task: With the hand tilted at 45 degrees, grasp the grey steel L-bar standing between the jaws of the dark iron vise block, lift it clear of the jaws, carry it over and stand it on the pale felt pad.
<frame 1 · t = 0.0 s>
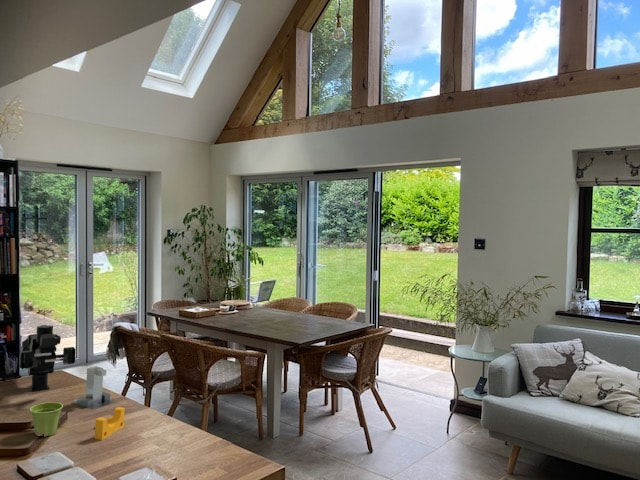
hand: (52, 362, 185), 17 cm above the kitchen island, tool horizontal, fingers open, 9 cm apart
steel bar: (93, 402, 190), point 1 cm above the kitchen island, touching vise
vise: (93, 405, 190), on the kitchen island
plant pot: (45, 434, 163), on the kitchen island
felt pad: (48, 411, 182), on the kitchen island
pipe clamp: (107, 433, 167), on the kitchen island
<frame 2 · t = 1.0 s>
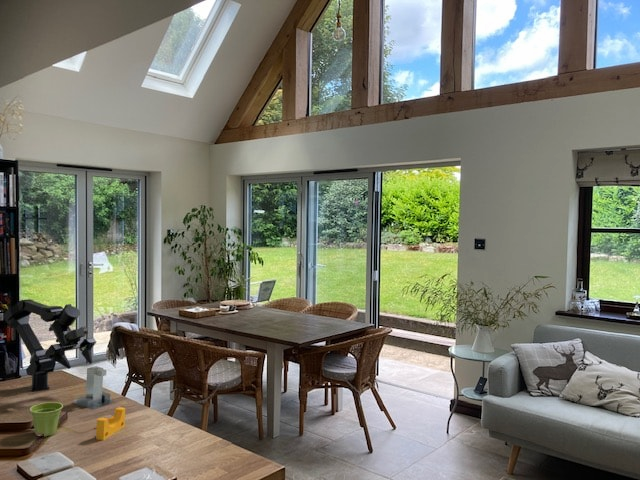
hand: (80, 365, 194), 14 cm above the kitchen island, tool tilted 45°, fingers open, 9 cm apart
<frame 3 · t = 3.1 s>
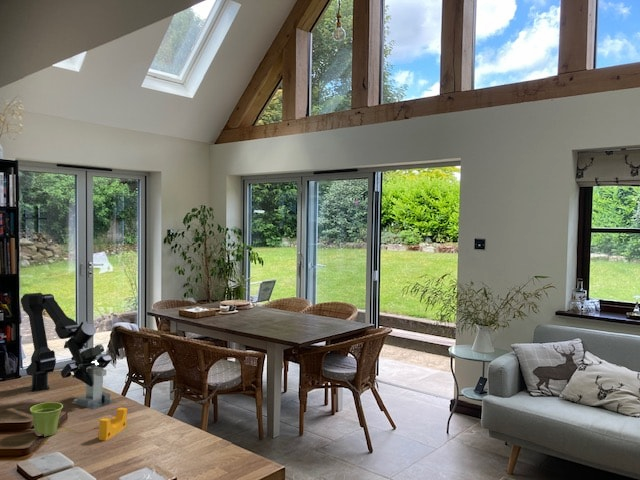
hand: (96, 384, 190), 8 cm above the kitchen island, tool tilted 45°, fingers closed on steel bar, 4 cm apart
steel bar: (93, 402, 190), point 1 cm above the kitchen island, touching gripper, vise
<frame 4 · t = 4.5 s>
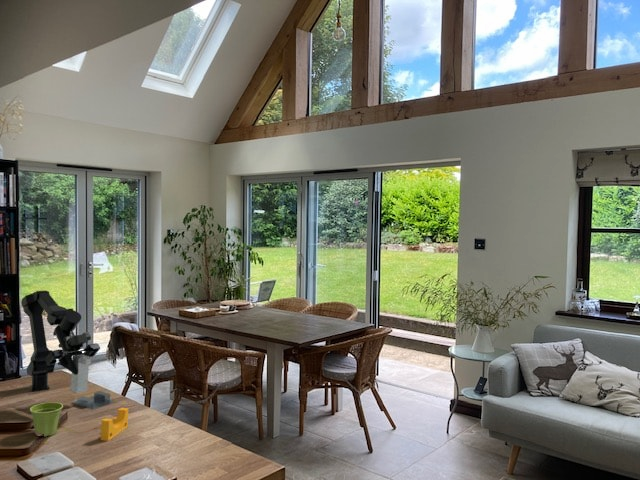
hand: (82, 372, 186), 13 cm above the kitchen island, tool tilted 45°, fingers closed on steel bar, 4 cm apart
steel bar: (79, 391, 187), point 6 cm above the kitchen island, touching gripper
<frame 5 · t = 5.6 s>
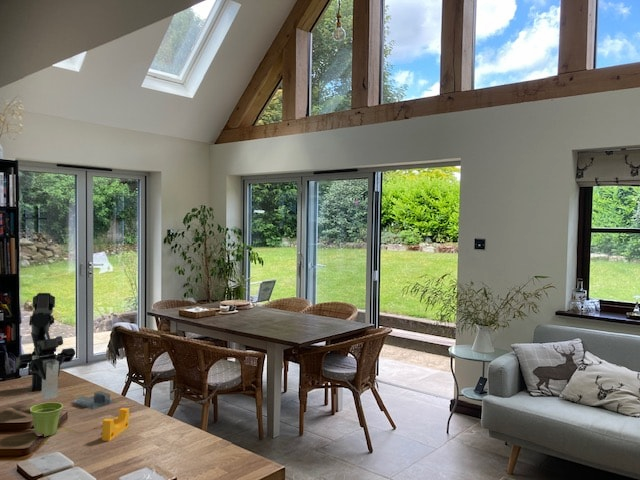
hand: (51, 378, 181), 12 cm above the kitchen island, tool tilted 45°, fingers closed on steel bar, 4 cm apart
steel bar: (49, 396, 182), point 5 cm above the kitchen island, touching gripper
when the fingers open (9 cm above the kitchen island, at t = 6.4 s): steel bar drops 1 cm, resting on felt pad.
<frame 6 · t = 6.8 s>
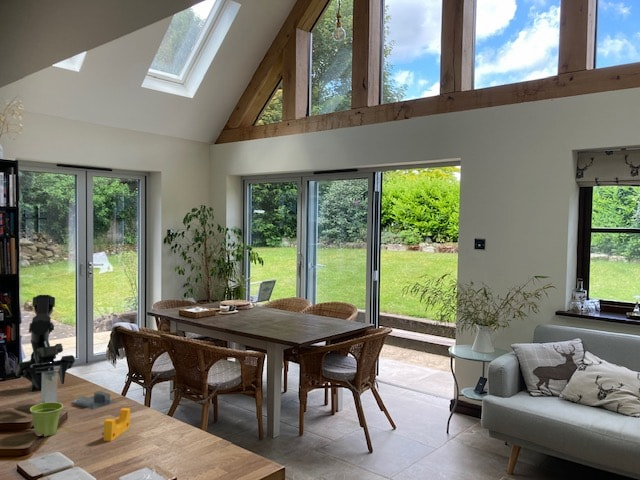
hand: (51, 385, 181), 10 cm above the kitchen island, tool tilted 45°, fingers open, 8 cm apart
steel bar: (48, 408, 182), point 1 cm above the kitchen island, touching felt pad
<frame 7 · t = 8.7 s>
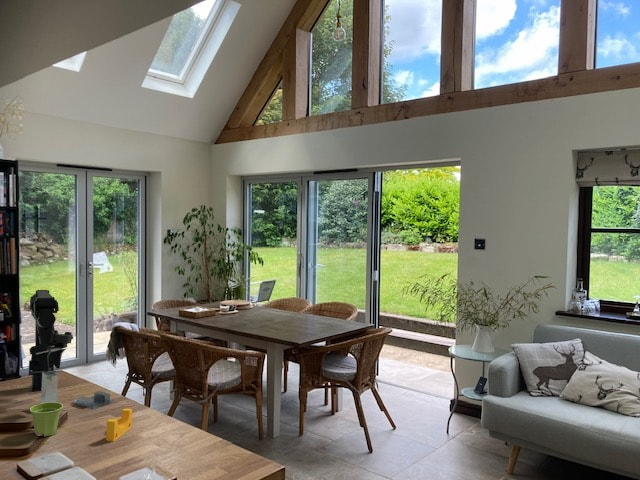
hand: (52, 369, 192), 12 cm above the kitchen island, tool tilted 20°, fingers open, 9 cm apart
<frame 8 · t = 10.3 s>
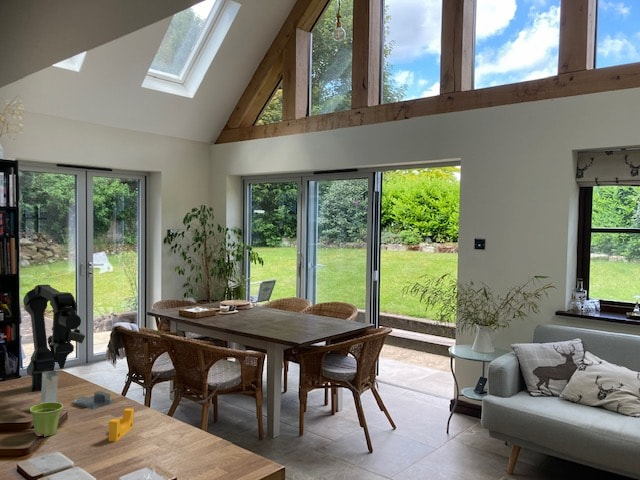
hand: (59, 365, 195), 13 cm above the kitchen island, tool pointing down, fingers open, 9 cm apart
at the end: steel bar inside the target area (0.0 cm from its centre), point 1.0 cm above the kitchen island; steel bar tilted 0°; steel bar moved 15.0 cm from its start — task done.
